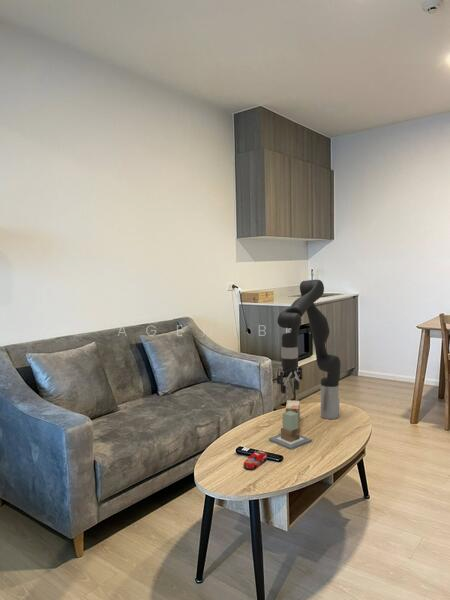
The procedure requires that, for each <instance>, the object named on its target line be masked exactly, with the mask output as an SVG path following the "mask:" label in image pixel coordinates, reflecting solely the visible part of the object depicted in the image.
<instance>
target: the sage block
mask: <svg viewBox="0 0 450 600" xmlns="http://www.w3.org/2000/svg"><path fill="white" fill-rule="evenodd" d="M282 427H283V428H284V429H287V430H289V431H292V430H295V429H298V413H295V412H292V411H288V412H286V411H285V412H283V413H282Z"/></svg>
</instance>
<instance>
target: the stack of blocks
mask: <svg viewBox="0 0 450 600" xmlns="http://www.w3.org/2000/svg"><path fill="white" fill-rule="evenodd" d="M300 408H301V407H300V400H290V399H289V400H288V399H287V400H286V405H285V412H288V411H292V412H295V413H298V428H299V429H300V420H301V419H300V417H301V416H300V415H301V413H300V412H301V411H300V410H301V409H300Z"/></svg>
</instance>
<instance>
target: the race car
mask: <svg viewBox="0 0 450 600" xmlns="http://www.w3.org/2000/svg"><path fill="white" fill-rule="evenodd" d="M267 460H268V454H267V453H266V452H264V451H255V452H253V453H252V454H250V455H249V456H247V458H246V460H244V462H243V467H244V469H246V470H257V468H258V467H260V466H261V465H263V464H265V462H267Z"/></svg>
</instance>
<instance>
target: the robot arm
mask: <svg viewBox="0 0 450 600" xmlns="http://www.w3.org/2000/svg"><path fill="white" fill-rule="evenodd" d="M299 292H300V295H301V296H299V297H298V298H296V299H295V300H294V301H293V302H292V304H290V306H289V307H287V308H286V309H284V310H282V311H281V312H280V313H279V314H278V317H277V321H276V322H277V324H278V326H279V327H280V328H282V329H291V331H289V332H286V333H283V334H282V335H281V352H280V353H281V355H280V357H281V359H280V360H281V367H282V370H277V372H276V373H277V374H276V375H277V376H276V385H280V393H281V394H284V395H285V394H287V393H286V392H287V389H286V388H287V387H286V385H287V382H288V381H289V380H291V379H293V389H294V390H297V391H298V390H299V388H300V382H301V381H302V380H303V367H302V366H299V349H298V338H299V332H300V328H301V325H302V317H303V316H304V314H305V313H306V314H307V319H308V323H309V329H310V332H311V335H312V336H311V337H312V339H313V345H314V350H315V357H316V364H317V367H318V369H319V370H320V371H323V372H326V373H327V377H326V376H325V377H323V378H321V379H320V417H321V418H323V419H327V420H336V419H338V418H339V417H340V398H339V393H340V391H339V381H340V378H341V365H342V364H341V360H340V357H339V356H338V355H333V354H329V353H328V352H327V347H326V346H327V345H326V344H327V341H328V339H329V335H330V328H329V323H328V319H327V317H326V316H325V314H323V312H321V311H320V310H319V309H318V307H317V306H316V305H315V302H317V301H318V300H319V299H320V298H322V296H323V295H324V292H325V286H324V283H323V281H322V280H321V279H308V280H303V281H301V282H300V283H299Z"/></svg>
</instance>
